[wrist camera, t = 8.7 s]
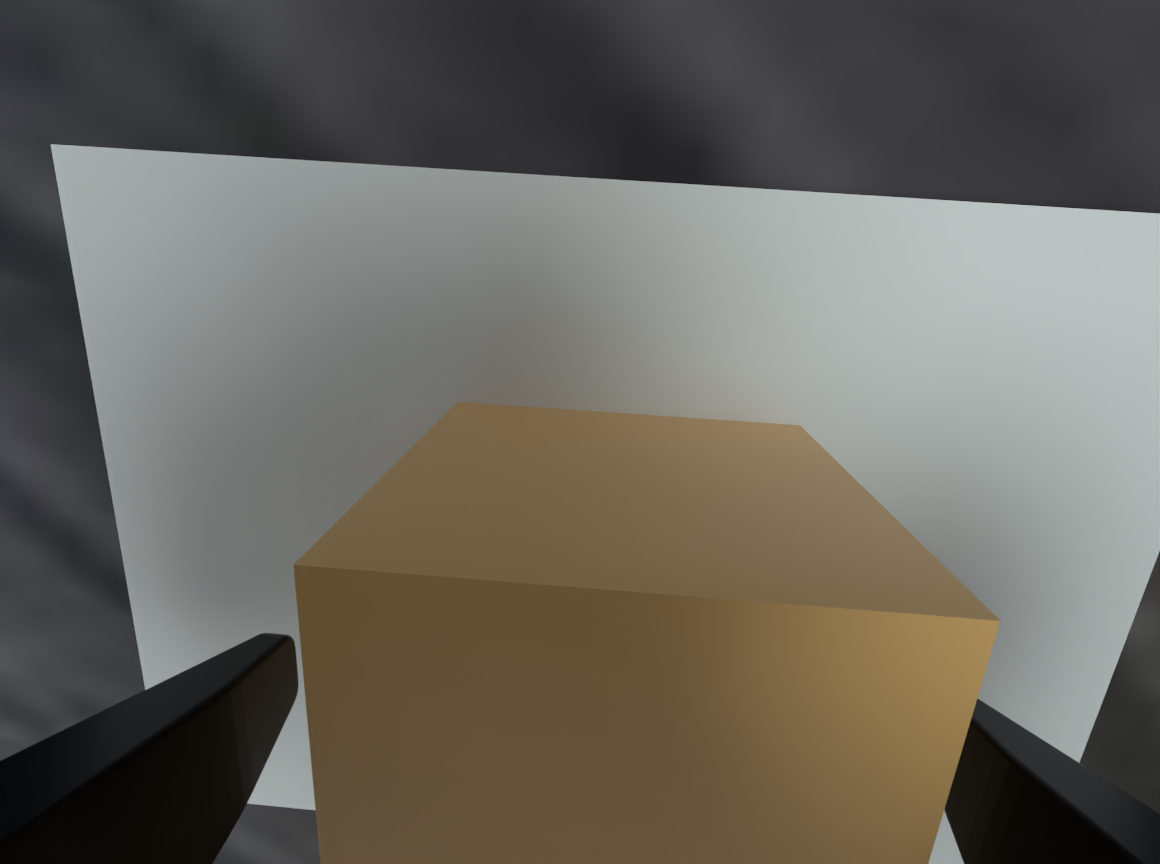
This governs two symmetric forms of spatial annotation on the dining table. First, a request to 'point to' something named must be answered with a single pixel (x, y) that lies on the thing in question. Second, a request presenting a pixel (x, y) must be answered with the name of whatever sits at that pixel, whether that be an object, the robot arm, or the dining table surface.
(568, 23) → the dining table surface
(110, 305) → the plate
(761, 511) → the cardboard box
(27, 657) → the dining table surface
